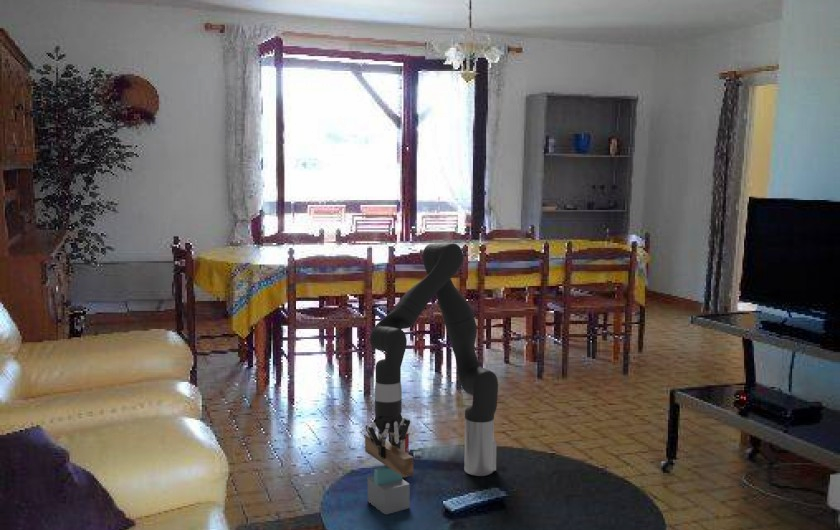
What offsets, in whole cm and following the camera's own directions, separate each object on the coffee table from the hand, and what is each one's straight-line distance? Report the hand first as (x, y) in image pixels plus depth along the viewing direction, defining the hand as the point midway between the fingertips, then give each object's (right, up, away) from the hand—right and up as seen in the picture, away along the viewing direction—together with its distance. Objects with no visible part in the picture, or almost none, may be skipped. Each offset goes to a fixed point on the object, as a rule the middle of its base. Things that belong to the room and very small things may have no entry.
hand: (388, 456), depth 203 cm
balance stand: (0, -14, +1) cm, 14 cm away
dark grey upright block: (+2, -12, +27) cm, 29 cm away
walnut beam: (0, -2, 0) cm, 2 cm away
